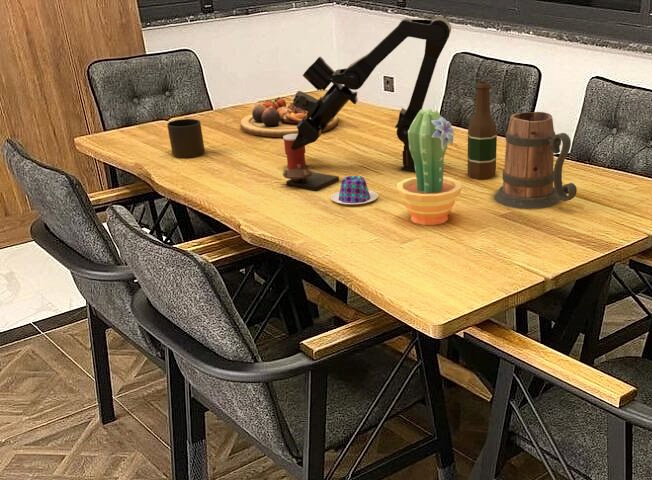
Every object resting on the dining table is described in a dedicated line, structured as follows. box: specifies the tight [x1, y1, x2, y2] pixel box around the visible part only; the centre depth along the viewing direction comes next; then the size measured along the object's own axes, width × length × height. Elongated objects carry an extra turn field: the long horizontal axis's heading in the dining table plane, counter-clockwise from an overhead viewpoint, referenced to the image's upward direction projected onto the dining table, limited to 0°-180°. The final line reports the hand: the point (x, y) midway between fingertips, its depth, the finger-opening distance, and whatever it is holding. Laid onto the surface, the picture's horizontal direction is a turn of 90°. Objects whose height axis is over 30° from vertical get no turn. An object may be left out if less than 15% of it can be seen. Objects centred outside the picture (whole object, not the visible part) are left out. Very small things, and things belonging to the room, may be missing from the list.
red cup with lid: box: [282, 134, 307, 170], centre depth 233 cm, size 6×6×9 cm
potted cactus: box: [396, 108, 462, 226], centre depth 192 cm, size 15×15×25 cm
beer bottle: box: [467, 81, 498, 180], centre depth 220 cm, size 8×8×24 cm
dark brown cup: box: [166, 118, 206, 159], centre depth 247 cm, size 9×12×9 cm
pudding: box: [330, 175, 379, 205], centre depth 210 cm, size 12×12×5 cm
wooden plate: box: [239, 96, 339, 138], centre depth 273 cm, size 32×32×8 cm
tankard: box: [493, 111, 578, 210], centre depth 203 cm, size 24×17×20 cm
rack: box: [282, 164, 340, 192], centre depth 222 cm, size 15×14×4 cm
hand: (295, 144), depth 232 cm, fingers open, 9 cm apart
